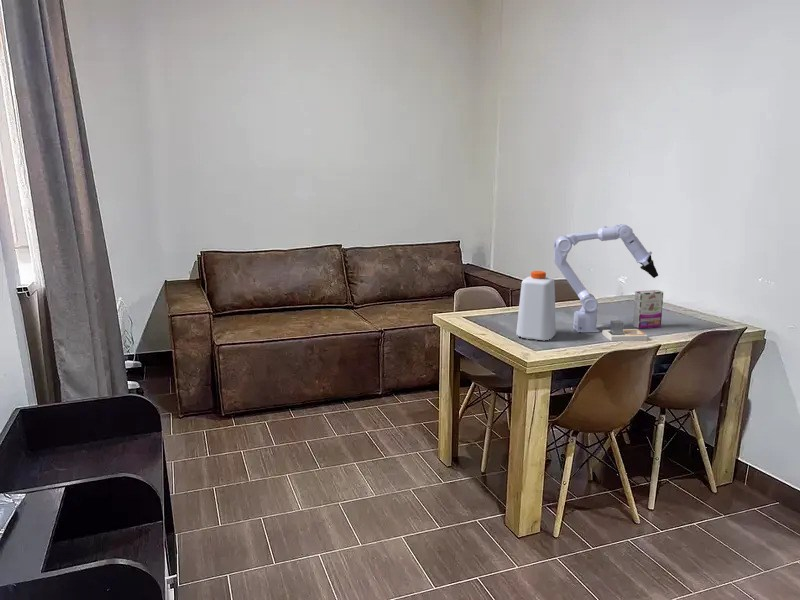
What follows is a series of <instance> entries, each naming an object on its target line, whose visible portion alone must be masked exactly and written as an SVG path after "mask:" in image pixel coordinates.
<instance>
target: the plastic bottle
mask: <svg viewBox="0 0 800 600" xmlns="http://www.w3.org/2000/svg"><path fill="white" fill-rule="evenodd" d="M546 275H547V273H546V272H545V271H542V270H533V271H531V273H530V275H529V276H527V277H525V278H524V279H523V280H522V281H521V285H520V292H519V293H520V295H519V305H518V313H517V325H516V331H515V332H516V333H515V334H516V336H517V335H518V336H521V337H526V338H533V339H540V340H548V341H550V340H552V338H553V337H554V336H555V335H556V333H557V331H556V330H557V329H556V327H557V326H556V292H555V291H556V289H555V288H556V287H555V279H554V278H552V277H548V276H546ZM518 336H517V337H518ZM549 339H550V340H549Z"/></svg>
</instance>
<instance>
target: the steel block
mask: <svg viewBox="0 0 800 600" xmlns="http://www.w3.org/2000/svg"><path fill="white" fill-rule="evenodd" d="M624 324H625V323H624V322H623V321H621V320H620V319H619V320H610V325H609V330H610V334H612V335H623V330H624V327H625V326H624Z"/></svg>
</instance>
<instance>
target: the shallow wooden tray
mask: <svg viewBox="0 0 800 600" xmlns="http://www.w3.org/2000/svg"><path fill="white" fill-rule="evenodd" d="M601 334H602V335H603V336H604V337H605V338H606V339H607V340H610V342H633V341H639V342H641V341H648V340H649V335H647V334H646V333H645V332H643V331H641V329H638V328H633V329H630V328H629V329H628V328H627V329H625V328H623V335H612V334H610V329H602V332H601ZM640 340H641V341H640Z"/></svg>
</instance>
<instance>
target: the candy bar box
mask: <svg viewBox="0 0 800 600" xmlns="http://www.w3.org/2000/svg"><path fill="white" fill-rule="evenodd" d="M663 301H664V291H661V290H659V289H654V290H652V289H651V290H641V291H640V290H639V291H635V294H634V310H633V324H632V326H633V327H634V328H635V329H638V330H643V329H644V330H645V329H657V328H661V327H662V319H663V318H662V316H663V305H664V304H663V303H664V302H663Z"/></svg>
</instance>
